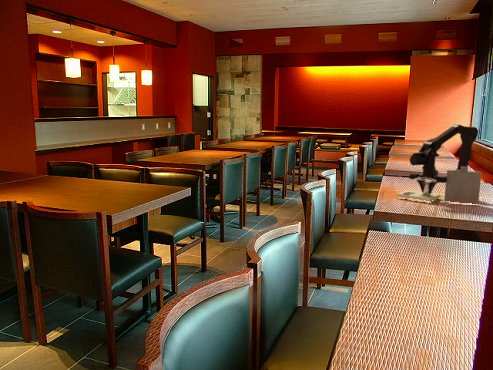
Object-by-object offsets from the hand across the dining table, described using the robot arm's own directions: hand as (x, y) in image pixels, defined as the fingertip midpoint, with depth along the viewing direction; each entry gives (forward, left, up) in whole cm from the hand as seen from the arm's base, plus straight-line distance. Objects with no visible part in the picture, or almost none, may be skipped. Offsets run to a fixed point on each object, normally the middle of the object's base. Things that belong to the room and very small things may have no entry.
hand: (426, 193), depth 228 cm
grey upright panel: (-16, -4, -4) cm, 17 cm away
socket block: (+5, 0, -4) cm, 6 cm away
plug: (0, 0, -2) cm, 2 cm away
